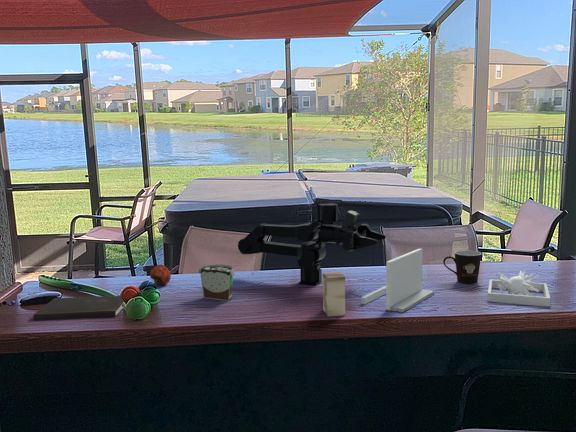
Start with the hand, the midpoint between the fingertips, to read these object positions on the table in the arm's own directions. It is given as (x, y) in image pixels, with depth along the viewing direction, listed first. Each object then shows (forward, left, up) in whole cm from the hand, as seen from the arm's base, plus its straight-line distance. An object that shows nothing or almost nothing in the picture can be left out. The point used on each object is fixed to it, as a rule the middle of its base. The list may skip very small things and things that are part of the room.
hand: (381, 239), depth 169 cm
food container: (-46, -23, -17) cm, 55 cm away
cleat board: (+7, -9, -17) cm, 20 cm away
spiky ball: (+40, +6, -17) cm, 44 cm away
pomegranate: (-74, -17, -17) cm, 78 cm away
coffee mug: (+24, +19, -17) cm, 34 cm away
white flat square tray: (+41, +6, -17) cm, 44 cm away
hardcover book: (-79, -48, -17) cm, 95 cm away
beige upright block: (-8, -27, -17) cm, 33 cm away
